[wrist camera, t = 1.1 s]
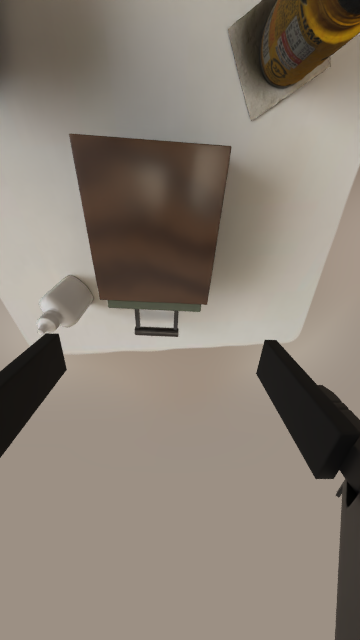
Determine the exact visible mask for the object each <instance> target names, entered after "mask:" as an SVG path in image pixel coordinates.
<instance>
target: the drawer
mask: <svg viewBox="0 0 360 640" xmlns="http://www.w3.org/2000/svg"><path fill="white" fill-rule="evenodd" d="M107 301H108V307H109V308H127V309H135V319H136V327H135V335H147V336H171V337H178V328H177V327H178V311H192V312H200V311H201V304H183V303H162V302H142V301H121V300H107ZM139 309H149V310H170V311H174V328H160V327H140V313H139Z"/></svg>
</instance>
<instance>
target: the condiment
mask: <svg viewBox="0 0 360 640" xmlns="http://www.w3.org/2000/svg"><path fill="white" fill-rule="evenodd" d="M228 32H229V36H230V40H231V45H232V49H233V53H234V57H235V61H236V66H237V70H238V73H239V77H240V81H241V87H242V90H243V93H244V96H245V100H246V105H247V108H248V112H249V115H250V119H251V121H252V120H253V119H255V118H256V117H258V116H259V115H261V114H262V113H264V112H265V111H267V110H268V109H269V108H271V107H272V106H274V105H275V104H277V103H278V102H280V101H281V100H283V99H284V98H285V97H287V96H288V95H290V94H291V93H293V92H294V91H296V90H297V89H299V88H300V87H301V86H303V85H304V84H306V83H307V82H309V81H310V80H312V79H313V78H315V77H316V76H317V75H319V74H320V73H322V72H323V71H325V70H326V69H328V68H329V67H330V66H331V64H330V56H331V55H332V54H334V53H335V52H336V51H337V50H338V49H340V48H341V47H342V46H344V45H345V44H346V43H347V42H349V41H350V40H351V39H353V37H355V36H356V35H357V34H359V33H360V0H262V1H261V2H260V3H259V4H257V5H256V6H255V7H254V8H253V9H252V10H250V11H249V12H248V13H247V14H246V15H244V16H243V17H242V18H241V19H239V20H238V21H237V22H236V23H234V24H233V25H232V26H231V27H230V28H229V29H228Z"/></svg>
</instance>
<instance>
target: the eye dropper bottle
mask: <svg viewBox="0 0 360 640" xmlns="http://www.w3.org/2000/svg"><path fill="white" fill-rule="evenodd" d="M92 301H93V296H92V294H91V292H90V291H89V289H88V288H87V286H86V285H85V284H84V283H82V282H81V281H80V280H79V279H77V278H75V277H74V276H71V275H69V276H67V277H65V278H64V279H62V280H61V281H60V282H59V283H58V284H56V285H55V286H54V287H53V288H52V289H51V290H50V291H48V292H47V293H46V294H45V295H44V296H43V297H42V298H41V299H40V300H39V305H40V308H41V310H42V312H43V313H44V314H43V315H42V316H41V317H40V318H39V319H38V320H37V323H36V324H37V326H38V328H39V329H38V331H37V333H38V334H44V333H45V332H47V333H52V332H54V331H55V330H56V329H57V328H58V327H59V325H60V326H62V327H67V328H68V327H71V326H73V325H74V324H76V323H77V322H78V320H79V319H80V318H81V316H82V315H83V314H84V312H85V311H86V309H87V308H88V307H89V305H90V304H91V302H92Z"/></svg>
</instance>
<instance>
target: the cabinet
mask: <svg viewBox="0 0 360 640" xmlns="http://www.w3.org/2000/svg"><path fill="white" fill-rule="evenodd" d="M69 137H70V142H71V147H72V153H73V158H74V163H75V169H76V174H77V179H78V185H79V190H80V195H81V201H82V206H83V211H84V217H85V222H86V227H87V233H88V238H89V243H90V249H91V254H92V260H93V265H94V270H95V276H96V281H97V286H98V292H99V297H100V300H121V301H142V302H162V303H183V304H204V305H207V302H208V295H209V289H210V283H211V276H212V270H213V263H214V257H215V250H216V244H217V237H218V231H219V224H220V218H221V212H222V205H223V199H224V192H225V186H226V179H227V173H228V166H229V160H230V153H231V146H222V145H209V144H196V143H183V142H171V141H158V140H145V139H132V138H119V137H107V136H94V135H81V134H69Z"/></svg>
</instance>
